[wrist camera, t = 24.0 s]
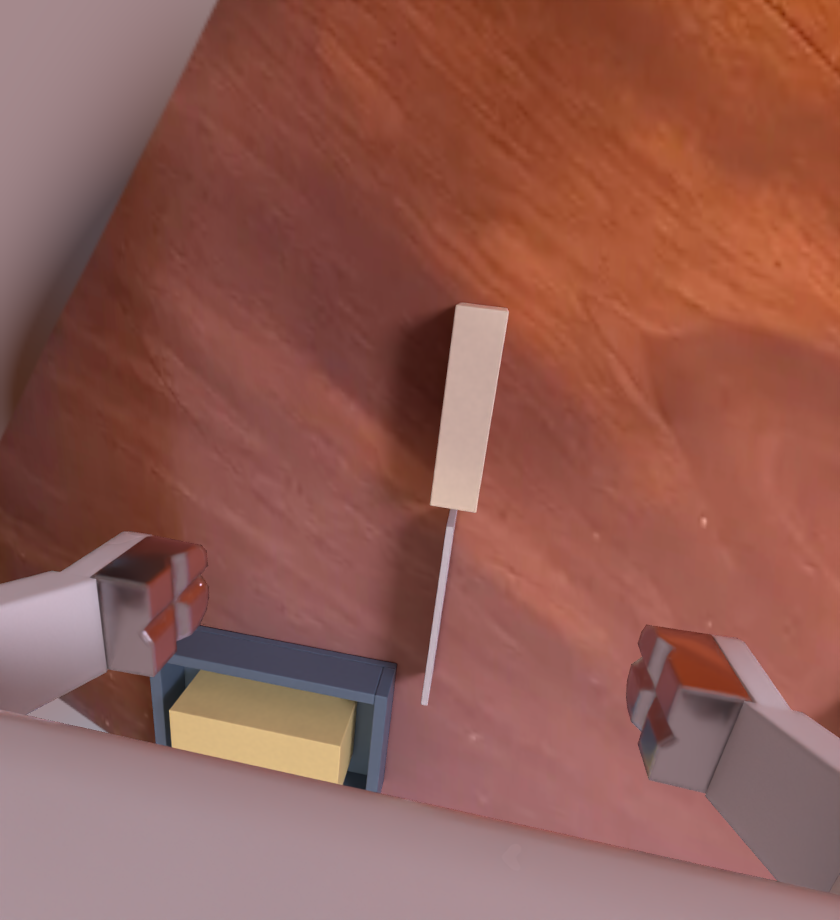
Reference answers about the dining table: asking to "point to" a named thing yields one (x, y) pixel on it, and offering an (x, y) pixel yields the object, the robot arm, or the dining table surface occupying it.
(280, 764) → the butter
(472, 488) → the butter knife
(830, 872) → the robot arm
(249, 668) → the butter dish
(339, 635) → the dining table surface
